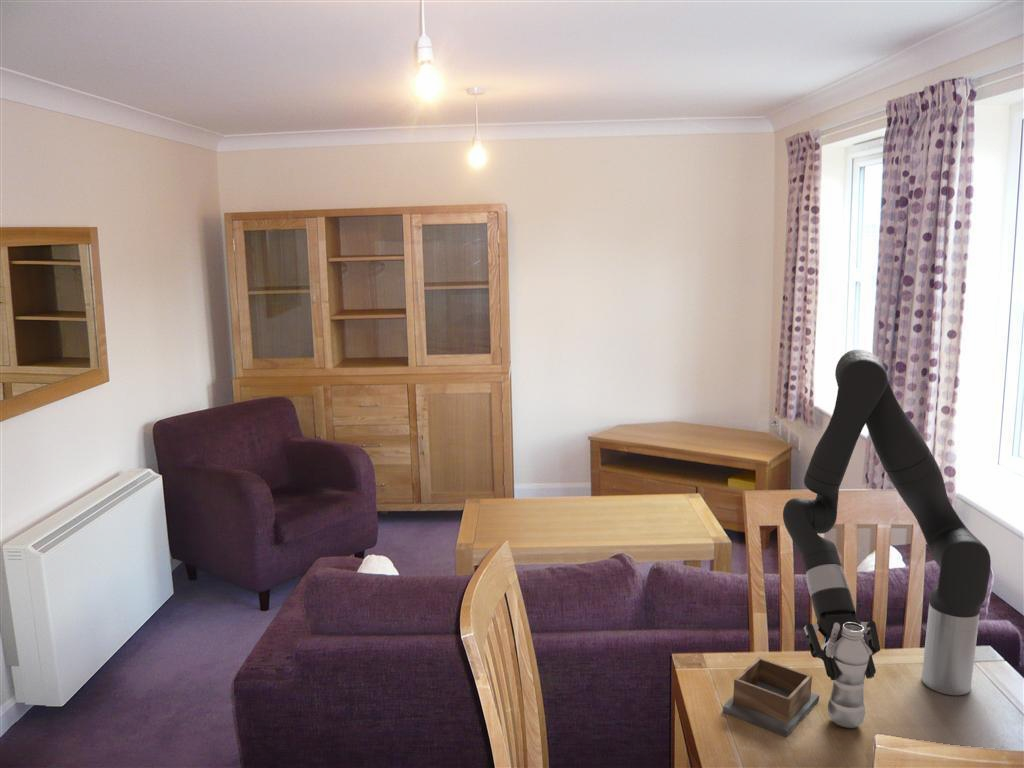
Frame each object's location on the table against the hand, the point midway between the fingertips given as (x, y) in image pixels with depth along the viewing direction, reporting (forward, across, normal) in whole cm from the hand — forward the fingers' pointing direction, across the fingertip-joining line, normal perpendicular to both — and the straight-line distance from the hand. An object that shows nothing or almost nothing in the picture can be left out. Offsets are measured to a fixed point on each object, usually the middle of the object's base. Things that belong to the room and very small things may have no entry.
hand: (852, 678), depth 163 cm
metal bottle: (+6, 0, +9) cm, 11 cm away
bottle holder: (+1, -12, +14) cm, 18 cm away
